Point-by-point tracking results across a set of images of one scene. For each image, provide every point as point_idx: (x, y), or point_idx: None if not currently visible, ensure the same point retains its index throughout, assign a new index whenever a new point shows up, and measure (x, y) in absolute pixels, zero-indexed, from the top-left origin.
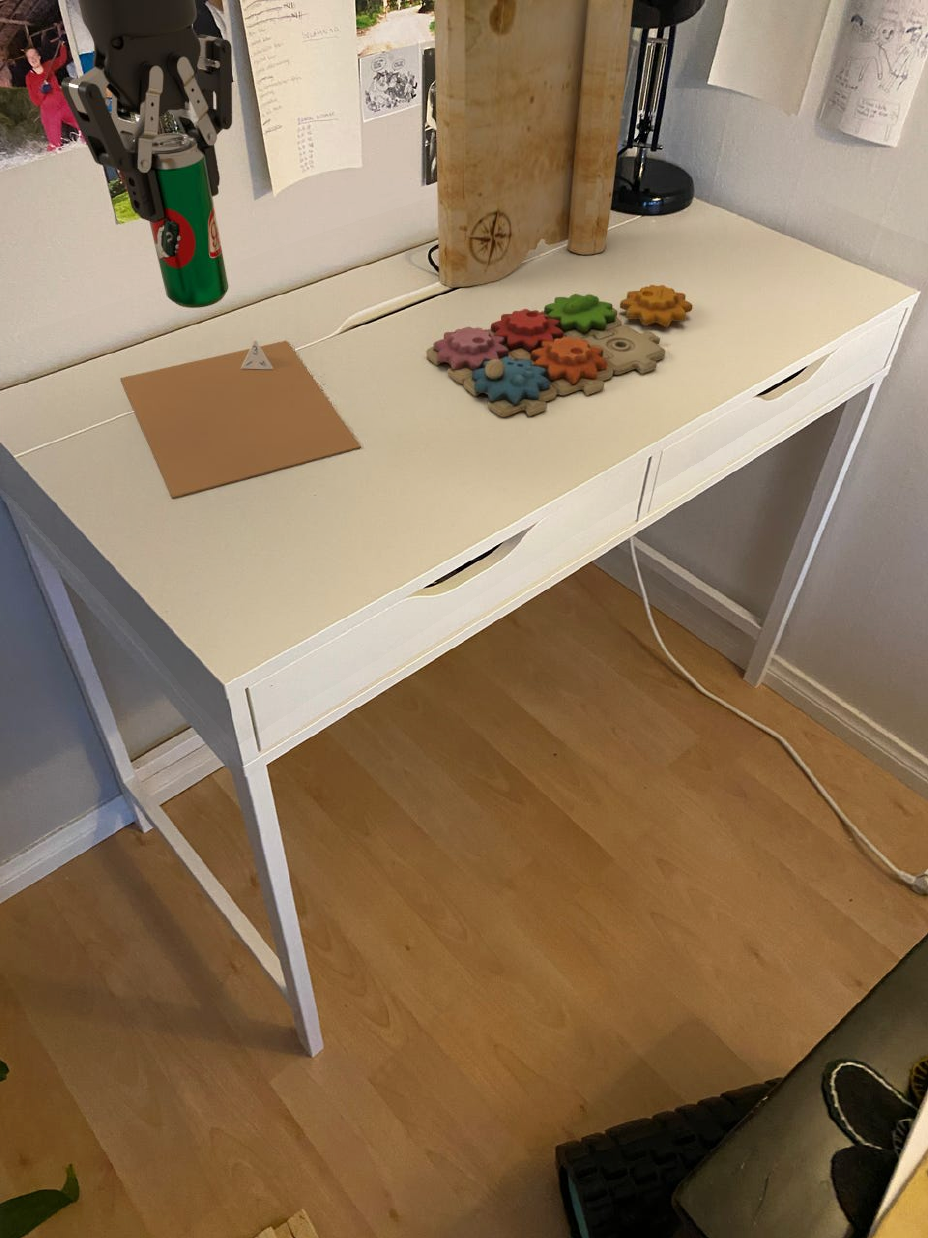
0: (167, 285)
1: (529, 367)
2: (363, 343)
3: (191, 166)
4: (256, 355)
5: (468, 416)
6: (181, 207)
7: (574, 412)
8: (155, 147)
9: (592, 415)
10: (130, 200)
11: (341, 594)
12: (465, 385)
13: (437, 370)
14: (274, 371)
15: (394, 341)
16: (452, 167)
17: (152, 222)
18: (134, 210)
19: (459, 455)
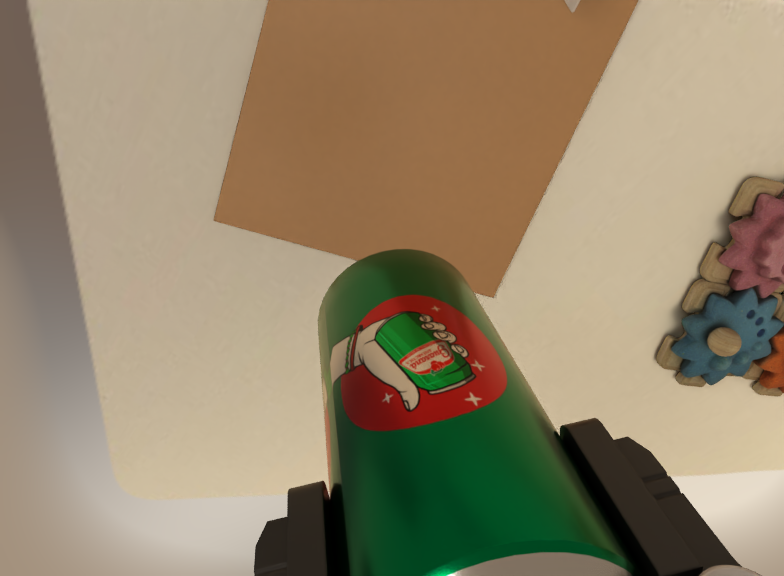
0: (319, 346)
1: (758, 349)
2: (737, 57)
3: None
4: None
5: (636, 330)
6: None
7: (711, 398)
8: None
9: (715, 414)
10: (254, 569)
11: (286, 475)
12: (694, 289)
13: (718, 217)
14: (568, 18)
15: (767, 95)
16: None
17: (328, 468)
18: (263, 533)
19: (558, 381)
